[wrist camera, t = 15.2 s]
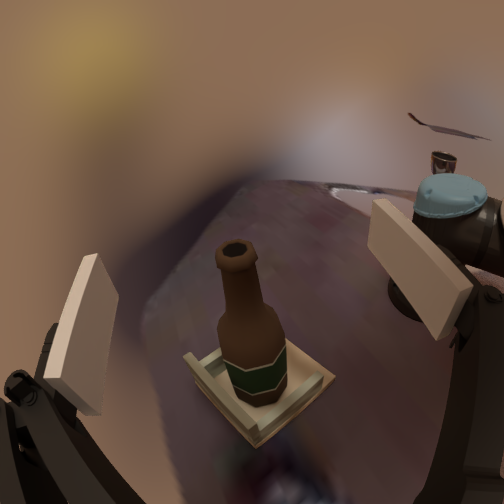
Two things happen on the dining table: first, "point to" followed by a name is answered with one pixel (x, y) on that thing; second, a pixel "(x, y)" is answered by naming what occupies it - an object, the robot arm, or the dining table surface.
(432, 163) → the wine glass
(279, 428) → the wooden display stand
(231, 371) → the beer bottle
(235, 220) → the dining table surface
